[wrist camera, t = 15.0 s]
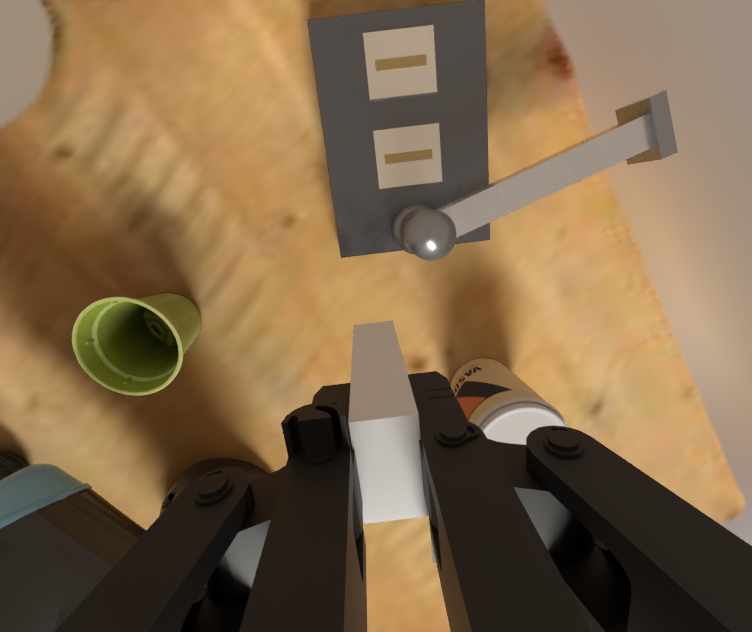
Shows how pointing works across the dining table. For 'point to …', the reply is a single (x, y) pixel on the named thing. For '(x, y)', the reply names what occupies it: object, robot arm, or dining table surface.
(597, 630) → the robot arm
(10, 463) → the mate gourd
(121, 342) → the plant pot
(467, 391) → the coffee cup
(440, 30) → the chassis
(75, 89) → the dining table surface
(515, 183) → the grey bar
